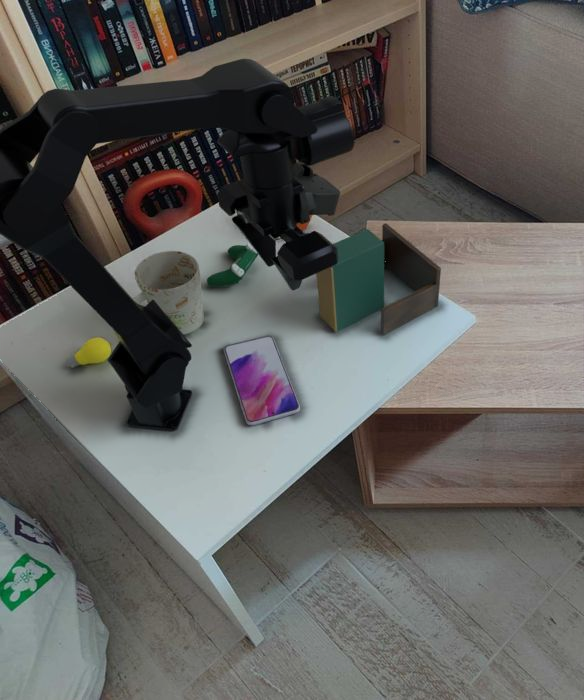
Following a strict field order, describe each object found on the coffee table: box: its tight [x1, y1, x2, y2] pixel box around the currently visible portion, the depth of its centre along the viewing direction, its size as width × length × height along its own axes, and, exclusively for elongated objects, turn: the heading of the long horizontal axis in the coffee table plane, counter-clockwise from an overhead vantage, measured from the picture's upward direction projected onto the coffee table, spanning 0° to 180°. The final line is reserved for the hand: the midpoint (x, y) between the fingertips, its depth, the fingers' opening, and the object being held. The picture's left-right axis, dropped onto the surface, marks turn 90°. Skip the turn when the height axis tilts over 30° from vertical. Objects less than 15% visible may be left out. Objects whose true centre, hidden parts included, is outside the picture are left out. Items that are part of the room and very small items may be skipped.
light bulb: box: [65, 337, 112, 369], centre depth 92 cm, size 3×6×4 cm
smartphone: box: [223, 334, 301, 426], centre depth 93 cm, size 7×1×15 cm
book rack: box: [380, 223, 442, 336], centre depth 105 cm, size 11×14×8 cm
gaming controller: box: [206, 242, 259, 288], centre depth 107 cm, size 9×4×6 cm
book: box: [315, 228, 385, 333], centre depth 100 cm, size 9×4×13 cm, turn 132°
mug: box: [132, 250, 205, 336], centre depth 95 cm, size 8×13×10 cm, turn 146°
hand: (283, 276), depth 90 cm, fingers open, 6 cm apart
